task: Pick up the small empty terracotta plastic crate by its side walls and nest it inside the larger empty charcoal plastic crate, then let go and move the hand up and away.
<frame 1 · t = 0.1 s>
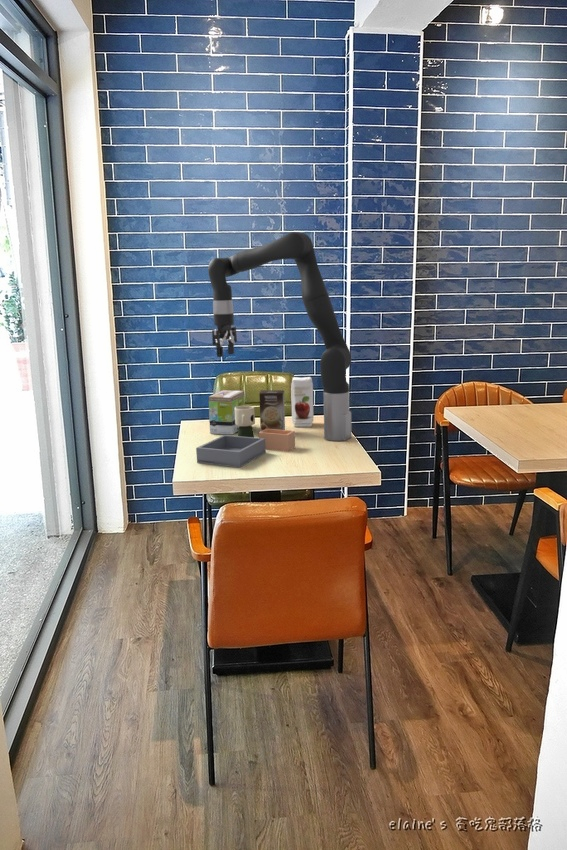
hand: (225, 355, 250), 29 cm above the table, fingers open, 8 cm apart
tea box: (228, 430, 256), on the table
character mug: (246, 443, 236), on the table
charcoal crate: (232, 457, 217), on the table
coffee box: (272, 433, 249), on the table
terracotta crate: (277, 448, 228), on the table
juice carton: (303, 425, 260), on the table
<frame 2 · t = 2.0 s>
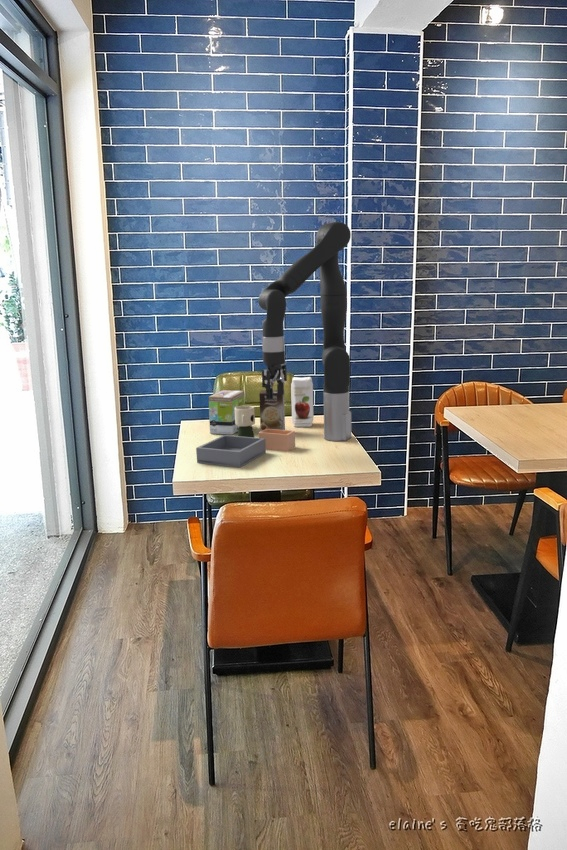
hand: (275, 397, 224), 18 cm above the table, fingers open, 8 cm apart
nothing on the table moved.
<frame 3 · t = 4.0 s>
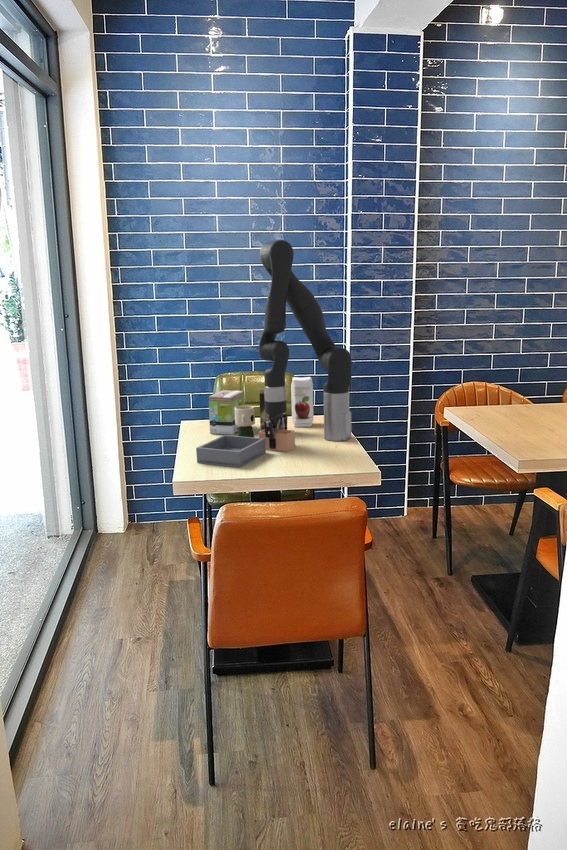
hand: (277, 445, 227), 1 cm above the table, fingers closed on terracotta crate, 6 cm apart
terracotta crate: (277, 448, 228), on the table, touching gripper
everything else where it was.
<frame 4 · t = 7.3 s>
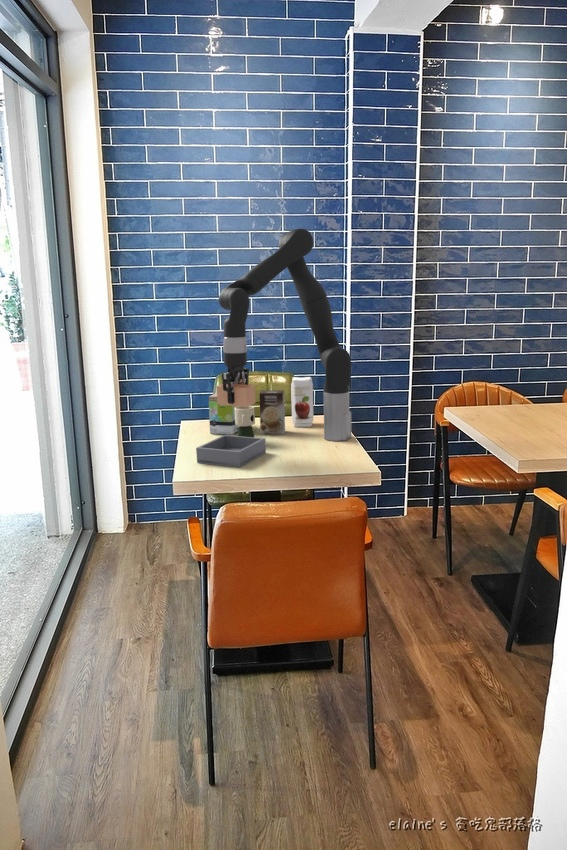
hand: (236, 401, 215), 19 cm above the table, fingers closed on terracotta crate, 6 cm apart
terracotta crate: (236, 403, 215), point 18 cm above the table, touching gripper
everything else where it was.
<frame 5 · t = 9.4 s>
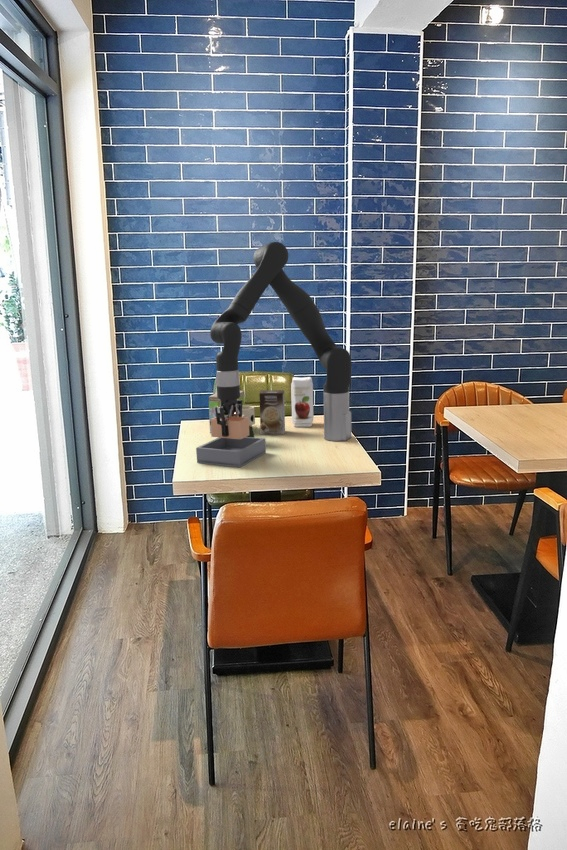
hand: (230, 433, 216), 8 cm above the table, fingers closed on terracotta crate, 6 cm apart
terracotta crate: (230, 435, 216), point 7 cm above the table, touching gripper
everything else where it was.
when the fingers open (4 cm above the table, at t = 10.9 s): terracotta crate drops 2 cm, resting on charcoal crate.
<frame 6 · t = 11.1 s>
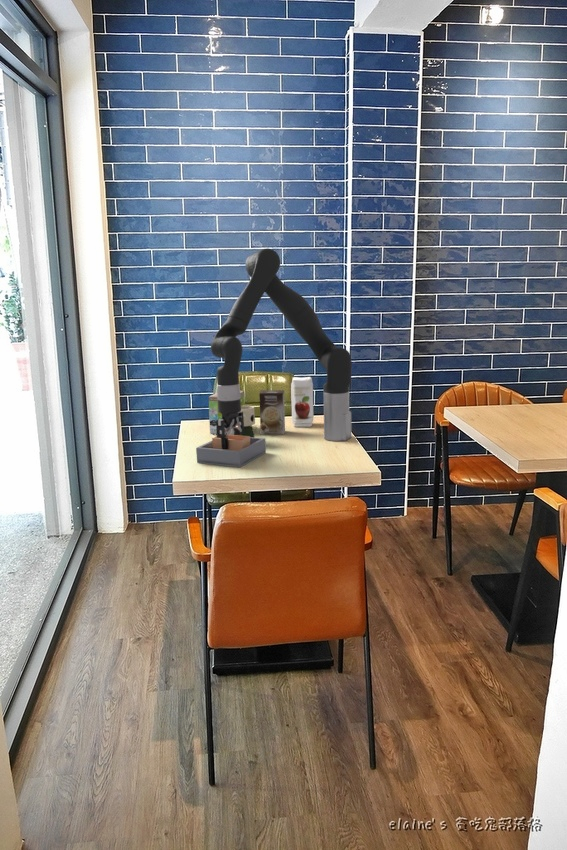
hand: (231, 446, 216), 4 cm above the table, fingers open, 8 cm apart
terracotta crate: (232, 454, 217), point 1 cm above the table, touching charcoal crate
everything else where it was.
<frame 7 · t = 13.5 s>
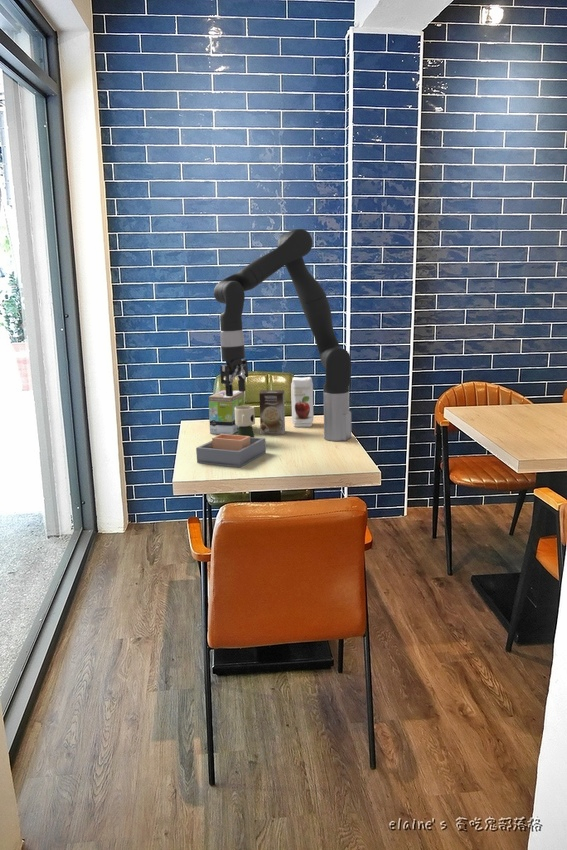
hand: (236, 393, 214), 21 cm above the table, fingers open, 8 cm apart
nothing on the table moved.
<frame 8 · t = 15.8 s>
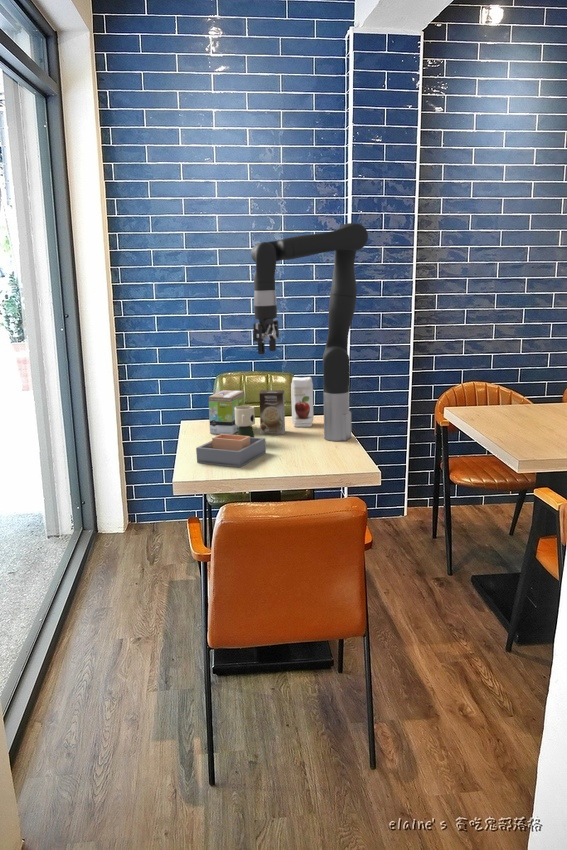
hand: (267, 352, 222), 33 cm above the table, fingers open, 8 cm apart
nothing on the table moved.
at the end: terracotta crate 0.1 cm off-centre on the charcoal crate, point 1.0 cm above the charcoal crate's base; terracotta crate tilted 0°; the gripper is holding nothing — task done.
